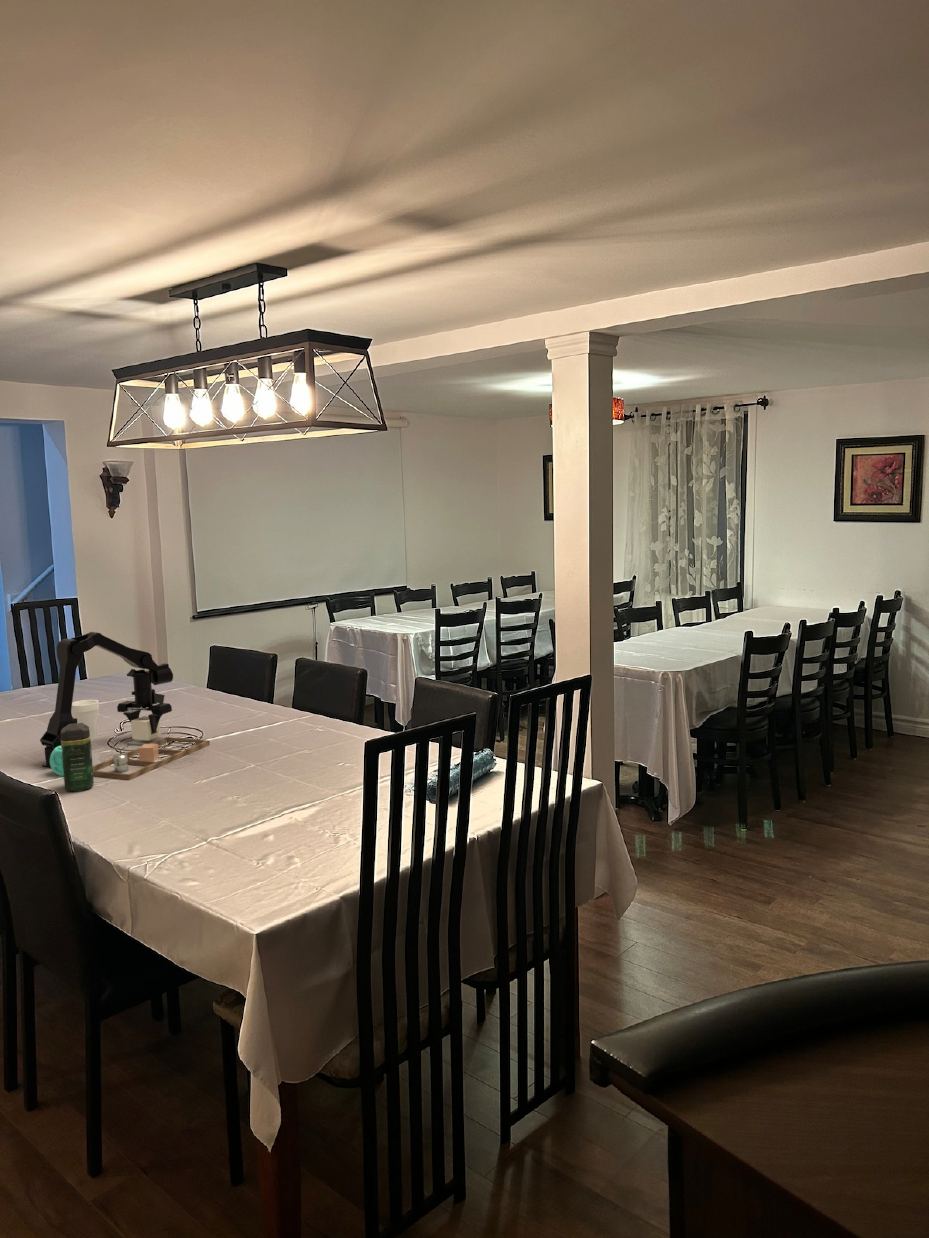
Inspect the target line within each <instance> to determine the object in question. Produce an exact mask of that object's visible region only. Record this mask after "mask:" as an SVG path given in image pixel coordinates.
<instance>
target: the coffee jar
mask: <svg viewBox="0 0 929 1238" xmlns="http://www.w3.org/2000/svg"><path fill="white" fill-rule="evenodd" d="M60 735H61V748H62V760H63V771H64V776H63V785H64V790H65V791H67V792H69V791H71V792H81V791H84V790H88V789H91V788H92V787H93V785H94V776H93V766H94V765H93V754H92V742H91V741H92V740H90V730H89V726H87V725H85V724H83V723H74V724H68V725H67V726H66V727H64V728H63V729H62V730H61V733H60Z"/></svg>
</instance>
